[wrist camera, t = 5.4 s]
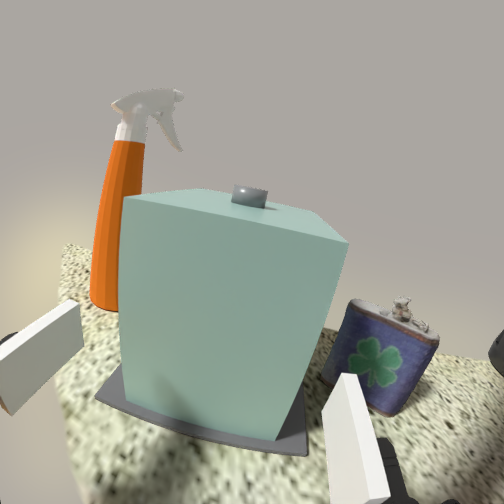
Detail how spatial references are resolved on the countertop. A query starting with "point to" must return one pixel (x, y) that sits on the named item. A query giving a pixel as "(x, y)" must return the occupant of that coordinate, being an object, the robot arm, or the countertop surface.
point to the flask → (381, 353)
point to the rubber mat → (286, 442)
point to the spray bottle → (125, 183)
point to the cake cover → (222, 305)
